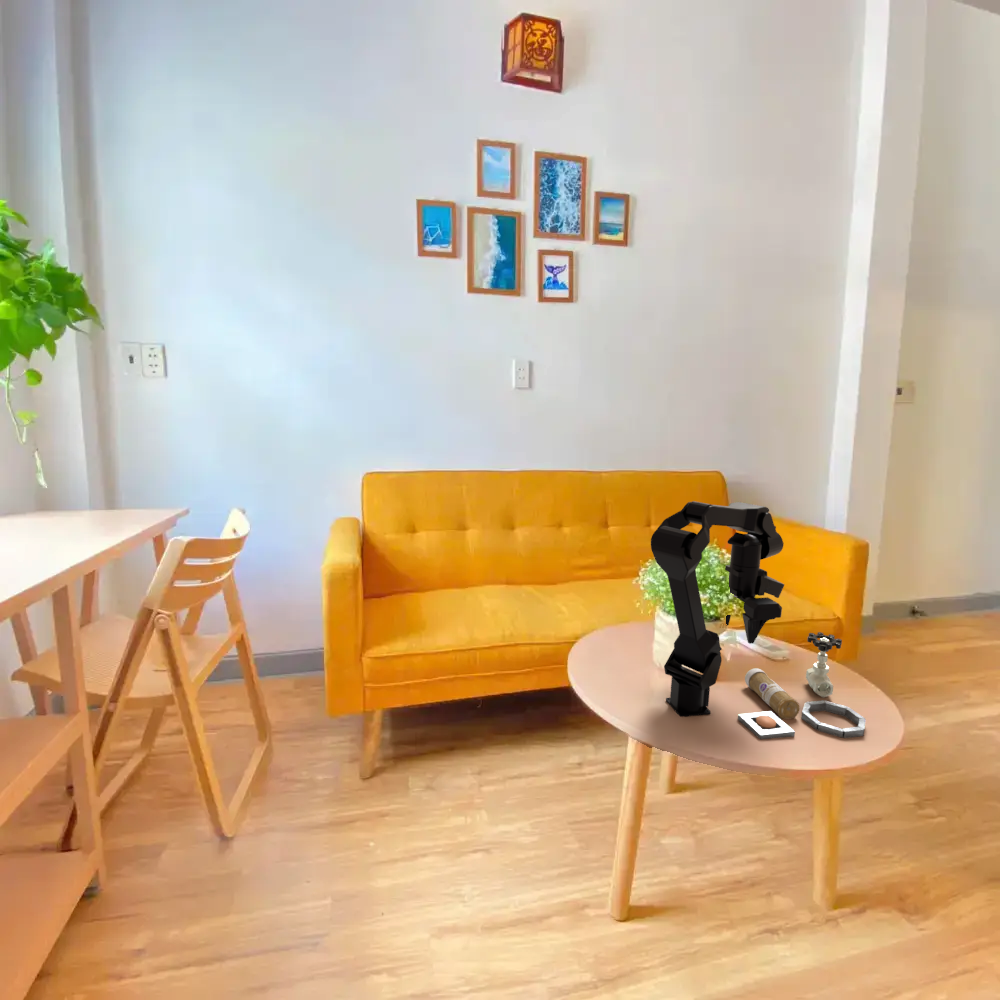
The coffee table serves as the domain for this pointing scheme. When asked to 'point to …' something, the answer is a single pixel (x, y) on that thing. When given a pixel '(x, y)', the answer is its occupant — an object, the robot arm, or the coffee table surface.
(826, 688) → the valve
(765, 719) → the plunger
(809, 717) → the socket ring
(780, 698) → the sprinkles bottle
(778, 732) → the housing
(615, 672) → the coffee table surface
